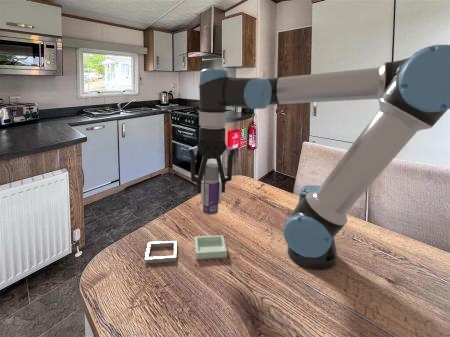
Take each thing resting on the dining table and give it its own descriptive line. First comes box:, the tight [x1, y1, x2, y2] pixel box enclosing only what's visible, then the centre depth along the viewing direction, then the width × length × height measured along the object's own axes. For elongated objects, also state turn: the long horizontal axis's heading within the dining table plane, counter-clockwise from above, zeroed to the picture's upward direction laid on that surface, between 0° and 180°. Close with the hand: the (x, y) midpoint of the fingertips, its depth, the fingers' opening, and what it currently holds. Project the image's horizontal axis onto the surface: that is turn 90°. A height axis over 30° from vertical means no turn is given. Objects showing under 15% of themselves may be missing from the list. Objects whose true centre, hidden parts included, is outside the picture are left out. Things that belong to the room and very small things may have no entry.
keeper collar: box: [144, 240, 178, 264], centre depth 89 cm, size 9×9×2 cm
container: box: [202, 162, 220, 216], centre depth 86 cm, size 5×5×15 cm
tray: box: [194, 234, 228, 261], centre depth 91 cm, size 10×10×2 cm
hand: (210, 202), depth 87 cm, fingers closed on container, 5 cm apart
